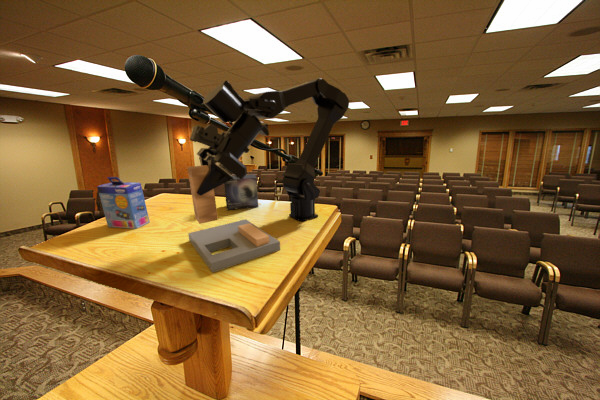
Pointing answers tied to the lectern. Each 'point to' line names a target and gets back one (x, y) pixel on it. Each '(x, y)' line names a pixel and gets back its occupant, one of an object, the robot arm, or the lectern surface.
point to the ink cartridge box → (123, 204)
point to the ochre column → (205, 202)
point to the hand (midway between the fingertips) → (196, 192)
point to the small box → (241, 192)
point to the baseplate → (232, 244)
